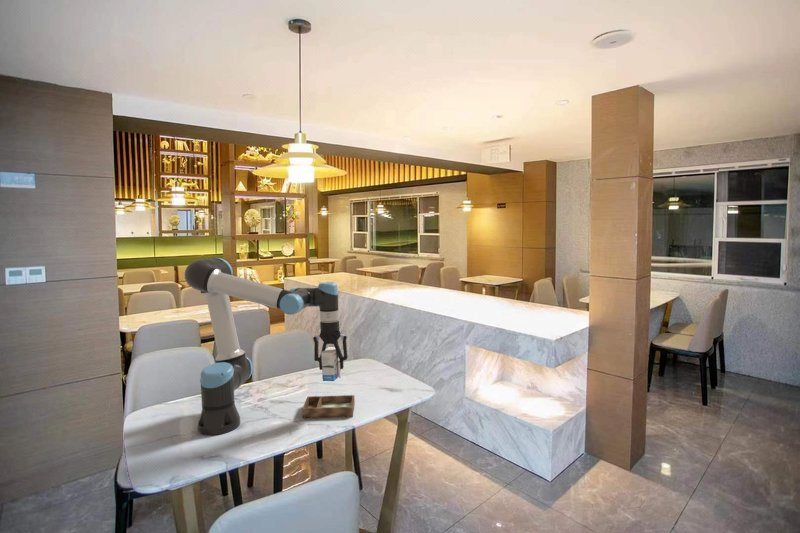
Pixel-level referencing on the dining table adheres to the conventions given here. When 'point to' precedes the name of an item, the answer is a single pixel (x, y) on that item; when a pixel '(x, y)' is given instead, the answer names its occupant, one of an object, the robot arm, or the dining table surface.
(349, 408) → the organiser
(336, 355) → the ink box
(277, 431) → the dining table surface
